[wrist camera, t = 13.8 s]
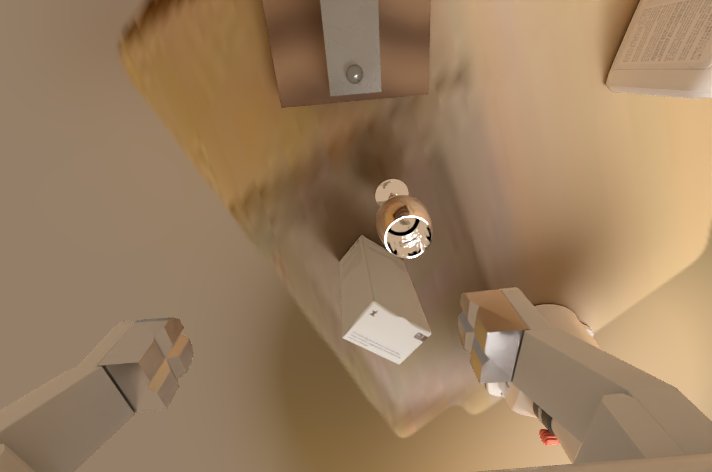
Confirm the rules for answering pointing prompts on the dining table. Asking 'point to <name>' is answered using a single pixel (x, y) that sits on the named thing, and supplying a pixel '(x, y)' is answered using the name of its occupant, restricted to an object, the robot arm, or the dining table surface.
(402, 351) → the skincare box
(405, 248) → the wineglass
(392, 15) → the stand
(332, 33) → the plate
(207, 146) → the dining table surface
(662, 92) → the photo printer
